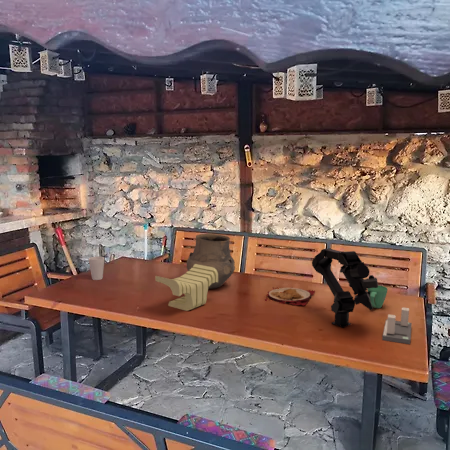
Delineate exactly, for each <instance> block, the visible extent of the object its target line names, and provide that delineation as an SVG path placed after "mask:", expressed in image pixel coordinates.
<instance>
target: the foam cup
mask: <svg viewBox="0 0 450 450" xmlns="http://www.w3.org/2000/svg"><path fill="white" fill-rule="evenodd" d="M88 264H89V269H90V273H91V279H92V281H93V280H94V281H99V280H102V279H103V277H104V268H105V257H104V256H99V255H97V256H91V257H89V258H88Z"/></svg>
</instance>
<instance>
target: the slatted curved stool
mask: <svg viewBox="0 0 450 450" xmlns="http://www.w3.org/2000/svg"><path fill="white" fill-rule="evenodd" d="M154 280H155V282H158V283H161V284H163V285H165V286H167V287H168V288H170V290H171V292H172V296H176V297H178V298H176V299H174V300H170V301H168V305H167V306H168V307H171V308H174V309H179V310H182V311H187V312H188V311H190V310H193V309H196V308H198V307H200V306H203V305H205V304H206V303H207V299H208V298H207V297H208V291H209V289H208V287H209V286H210V285H211V283H215V282H218V272H217V270H216V269H215V268H213V267H208V266H203V265H198V264H195V265H194V266H193V268H191V269H190V270H189V271H188V270H187V271H186V272H185V273H184V274H182V275H180V276H178V277H175V278H168V277H162V276H158V275H155V279H154ZM183 294H184V296H182V295H183Z"/></svg>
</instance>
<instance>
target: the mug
mask: <svg viewBox="0 0 450 450" xmlns="http://www.w3.org/2000/svg"><path fill="white" fill-rule="evenodd" d="M388 289H389V288H388V287H386V286H383V285H379V284H378V288H367V290H366V291H367V292H368V291H370V297H369V298H370V301H371V304H372V307H373V309H382V306H383V305H384V303H385V300H386V299H387V298H386V297H387V293H388Z"/></svg>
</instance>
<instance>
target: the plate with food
mask: <svg viewBox="0 0 450 450" xmlns="http://www.w3.org/2000/svg"><path fill="white" fill-rule="evenodd" d="M278 288H279V289H276V288H275V289H274V288H273V289H271V290H270V291H267V293H268V294H267V293H266V295H265V296H266V297H268V298H265V299H264V300H265V301H264V302H267V299H268V301H270V300H271V299H273V300H275V301H274V302H278V304H281V305H287V304H289V305H292V306H303V307H304V306H306V305H307V304H308V303H309V301H310V299H311V298H312V297H313V295H314V294H315V293H316V290H313V289H312V290H311V289H309V290H307V289H303V288H300V287H299V288H297V287H293V286H292V287H278ZM280 292H282V293H280ZM269 297H270V298H271V299H270V298H269ZM273 300H272V301H273Z"/></svg>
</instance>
